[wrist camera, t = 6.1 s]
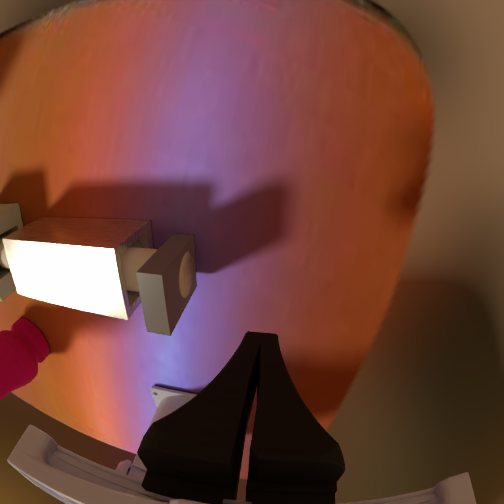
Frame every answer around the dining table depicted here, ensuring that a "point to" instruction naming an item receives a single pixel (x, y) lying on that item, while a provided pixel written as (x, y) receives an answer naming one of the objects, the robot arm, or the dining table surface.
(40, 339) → the pepper mill
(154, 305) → the tube
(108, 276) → the sleeve
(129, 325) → the dining table surface
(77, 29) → the dining table surface
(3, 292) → the socket
